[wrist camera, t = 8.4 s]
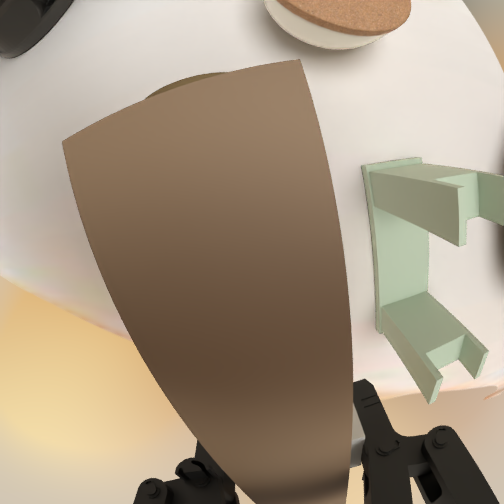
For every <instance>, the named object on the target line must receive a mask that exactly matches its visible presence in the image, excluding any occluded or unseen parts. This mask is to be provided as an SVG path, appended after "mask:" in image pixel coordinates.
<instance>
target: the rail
mask: <svg viewBox="0 0 504 504" xmlns="http://www.w3.org/2000/svg"><path fill="white" fill-rule="evenodd" d="M62 145H63V150H64V155H65V160H66V164H67V169H68V173H69V177H70V181H71V185H72V189H73V193H74V196H75V200H76V203H77V207H78V210H79V213H80V217H81V220H82V223H83V226H84V229H85V232H86V235H87V238H88V241H89V243H90V246H91V249H92V252H93V254H94V257H95V260H96V262H97V265H98V267H99V270H100V272H101V275H102V277H103V279H104V282H105V284H106V286H107V289H108V291H109V293H110V295H111V298H112V300H113V302H114V304H115V306H116V308H117V310H118V313H119V315H120V317H121V319H122V321H123V323H124V325H125V327H126V329H127V331H128V333H129V334H130V336H131V338H132V340H133V342H134V344H135V346H136V347H137V349H138V351H139V353H140V355H141V356H142V358H143V360H144V362H145V363H146V365H147V366H148V368H149V370H150V371H151V373H152V375H153V376H154V378H155V380H156V381H157V383H158V385H159V386H160V388H161V389H162V391H163V392H164V394H165V395H166V397H167V398H168V400H169V401H170V403H171V404H172V406H173V407H174V409H175V410H176V411H177V413H178V414H179V416H180V417H181V418H182V420H183V421H184V422H185V424H186V425H187V427H188V428H189V429H190V431H191V432H192V433H193V435H194V436H195V437H196V438H197V440H198V441H199V442H200V443H201V445H202V446H203V447H204V448H205V450H206V451H207V452H208V453H209V454H210V456H211V457H212V458H213V459H214V460H215V462H216V463H217V464H218V465H219V466H220V467H221V468H222V469H223V471H224V472H225V473H226V474H227V475H228V476H229V477H230V478H231V479H232V480H233V481H234V482H235V484H236V485H237V486H238V487H240V489H241V490H242V491H243V492H244V493H245V494H246V495H247V496H248V497H249V498H250V499H252V501H254V502H255V503H256V504H346V497H347V488H348V480H349V470H350V459H351V444H352V423H353V358H352V335H351V320H350V307H349V295H348V285H347V276H346V267H345V259H344V251H343V244H342V237H341V230H340V224H339V218H338V212H337V206H336V200H335V195H334V189H333V184H332V179H331V174H330V169H329V165H328V160H327V156H326V151H325V147H324V143H323V138H322V134H321V130H320V126H319V122H318V119H317V115H316V111H315V107H314V104H313V100H312V97H311V93H310V90H309V87H308V83H307V80H306V77H305V74H304V70H303V67H302V64H301V61H300V59H298V60H290V61H283V62H277V63H271V64H265V65H260V66H255V67H250V68H245V69H240V70H236V71H232V72H220V73H209V74H202V75H197V76H193V77H189V78H186V79H182V80H179V81H177V82H174V83H171V84H169V85H167V86H165V87H163V88H161V89H159V90H157V91H155V92H154V93H152V94H151V95H149V96H148V97H147V98H146V99H145V100H143V101H140V102H138V103H136V104H133V105H131V106H129V107H126V108H124V109H122V110H120V111H118V112H116V113H114V114H112V115H109V116H107V117H105V118H103V119H101V120H99V121H98V122H96V123H94V124H92V125H90V126H88V127H86V128H84V129H83V130H81V131H79V132H77V133H76V134H74V135H72V136H71V137H69V138H67V139H65V140H64V141H62Z"/></svg>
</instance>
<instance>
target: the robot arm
mask: <svg viewBox="0 0 504 504" xmlns="http://www.w3.org/2000/svg"><path fill="white" fill-rule="evenodd" d="M72 1H73V0H0V56H1V57H5V58H13V57H16V56H18V55H20V54H22V53H24V52H25V51H27V50H28V49H29V48H31V47H32V46H33V45H34V44H36V43H37V42H38V41H39V40H40V39H41V38H42V37H43V36H44V35H45V34H46V33H47V32H48V31H49V30H50V29H51V28H52V27H53V26H54V24H55V23H56V22H57V21H58V20H59V19H60V17H61V16H62V15H63V14H64V12H65V11H66V10H67V8H68V7H69V6H70V4H71V3H72ZM361 462H362V464H363V468H364V473H363V477H362V480H364V504H413V503H412V493H411V485H410V477H413V478H414V480H415V482H416V484H417V486H418V488H419V490H420V492H421V495H422V497H423V499H424V501H425V503H426V504H499V502H498V500H497V498H496V496H495V495H494V493H493V491H492V489H491V488H490V486H489V484H488V483H487V481H486V479H485V477H484V476H483V474H482V472H481V471H480V469H479V467H478V466H477V464H476V463H475V461H474V459H473V458H472V456H471V455H470V453H469V452H468V450H467V449H466V447H465V445H464V444H463V443H462V441H461V439H460V438H459V437H458V435H457V433H456V432H455V431H454V430H453V429H452V428H451V427H449V426H437V427H435V428H433V429H432V430H431V431H429V432H428V434H425V435H419V436H410V437H407V436H402V435H400V434H398V433H397V432H395V431H394V429H393V428H392V425H391V423H390V421H389V419H388V416H387V414H386V412H385V410H384V408H383V405H382V403H381V401H380V399H379V397H378V395H377V392H376V390H375V388H374V386H373V385H372V384H371V383H370V382H368V381H367V380H366V379H363V380H360V381H356V382H353V423H352V444H351V459H350V468H352V467H356V466H359V465H361ZM175 474H176V475H177V476H179V477H180V478H179V479H175V480H171V481H166V482H163V481H162V480H159V479H156V478H150V479H147V480H145V481H144V482H142V483H141V484H140V486H139V488H138V491H137V494H136V497H135V500H134V503H133V504H240V503H239V498H238V495H237V493H236V492H235V482H234V481H233V480H232V479H231V478H230V477H229V476H228V475H227V474H226V473H225V472H224V471H223V469H222V468H221V467H220V466H219V465H218V464H217V463H216V462H215V460H214V459H213V458H212V457H211V456H210V454H209V453H208V452H207V451H206V450H205V448H204V447H203V446H202V445H201V443H200V442H199V441H198V440H197V446H196V453H195V458H188V459H185V460H183V461H182V462H180V463H179V465H178V466H177V467H176V471H175Z"/></svg>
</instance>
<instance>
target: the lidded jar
mask: <svg viewBox="0 0 504 504" xmlns="http://www.w3.org/2000/svg"><path fill="white" fill-rule="evenodd" d="M263 1H264V4H265V6H266V9H267V10H268V12H269V14H270V15H271V17H272V18H273V19H274V20H275V21H276V23H277V24H278V25H279V26H280V27H281V28H282V29H283V30H285V31H286V32H287V33H289V34H290V35H292V36H293V37H295V38H297V39H299V40H301V41H303V42H305V43H308V44H310V45H314V46H317V47H321V48H326V49H335V50H337V49H353V48H358V47H361V46H364V45H367V44H370V43H372V42H374V41H376V40H378V39H380V38H382V37H383V36H385V35H386V34H388V33H389V32H391V31H393V30H395V29H397V28H398V27H400V26H401V25H402V24H403V23H404V22H406V20H407V19H408V17H409V15H410V11H411V0H263Z"/></svg>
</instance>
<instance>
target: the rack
mask: <svg viewBox="0 0 504 504" xmlns="http://www.w3.org/2000/svg"><path fill="white" fill-rule="evenodd" d="M361 167H362V173H363V178H364V184H365V190H366V197H367V204H368V211H369V219H370V227H371V236H372V246H373V258H374V273H375V294H376V330H377V331H378V333H379V334H381V333H384V335H385V336H386V338H387V339H388V341H389V342H390V344H391V345H392V347H393V348H394V350H395V351H396V353H397V354H398V356H399V357H400V359H401V360H402V362H403V363H404V365H405V367H406V368H407V370H408V371H409V373H410V374H411V376H412V378H413V379H414V381H415V382H416V384H417V386H418V387H419V389H420V391H421V392H422V394H423V396H424V397H425V399H426V401H427V402H428V404H431V403H433V402H435V400H436V397H437V395H438V392H439V389H440V386H441V383H442V380H443V376H442V375H441V374H440V372H439V371H438V369H440V368H442V367H444V366H446V365H448V364H450V363H452V362H454V361H456V360H458V359H459V361H460V362H461V363H462V364H463V365H464V367H465V368H466V369H467V370H468V372H469V373H470V374H471V375H472V377H473V378H474V379H476V378H477V377H479V376H480V373H481V371H482V368H483V366H484V363H485V360H486V358H487V355H488V352H489V351H488V350H487V348H486V347H485V346H484V345H483V344H482V343H481V342H480V341H479V340H478V339H477V338H476V337H475V336H474V335H473V334H472V333H471V332H470V331H469V330H468V329H467V328H466V327H465V326H464V325H463V324H462V323H461V322H460V321H458V320H457V319H456V318H455V317H454V316H453V315H452V314H451V313H450V312H449V311H448V310H447V309H446V308H445V307H444V306H442V305H441V304H440V303H439V302H438V301H437V300H436V299H435V298H434V297H432V296H431V295H430V294H429V293H428V292H427V291H428V270H429V232H431V233H433V234H435V235H437V236H439V237H441V238H443V239H445V240H447V241H448V242H450V243H452V244H454V245H456V246H458V247H460V246H463V245H466V230H467V220H469V219H472V218H475V217H482V218H484V219H487V220H490V221H492V222H495V223H497V224H500V225H502V226H504V176H503V175H498V174H493V173H488V172H482V171H476V170H470V169H463V168H456V167H449V166H440V165H432V164H422V158H418V157H415V158H407V159H400V160H393V161H387V162H380V163H374V164H368V165H362V166H361Z"/></svg>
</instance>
